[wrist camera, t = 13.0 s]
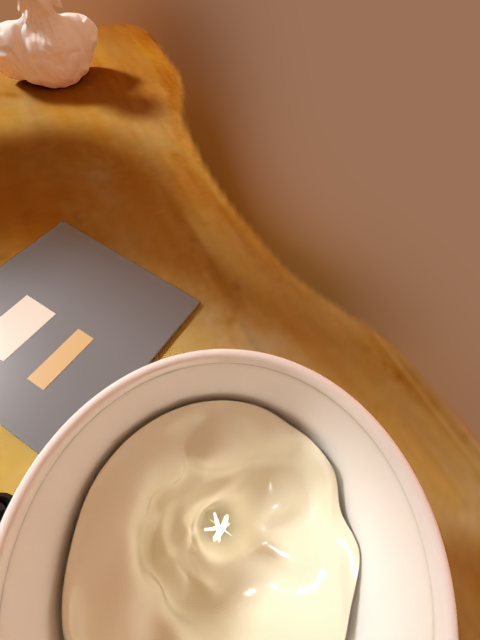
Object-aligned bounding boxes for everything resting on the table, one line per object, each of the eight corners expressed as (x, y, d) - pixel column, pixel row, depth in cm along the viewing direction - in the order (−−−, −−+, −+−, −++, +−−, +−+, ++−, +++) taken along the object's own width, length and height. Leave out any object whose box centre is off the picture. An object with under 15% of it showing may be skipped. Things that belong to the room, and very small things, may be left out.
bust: (14, 113, 39) (-4, 47, 29) (-26, 42, 37) (-61, -55, 27) (111, 90, 43) (124, 26, 33) (80, 26, 41) (84, -62, 31)
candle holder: (276, 419, 21) (355, 325, 10) (329, 624, 16) (571, 825, 6) (109, 452, 19) (0, 376, 8) (115, 697, 14) (-111, 1203, 4)
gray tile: (-101, 346, 22) (-105, 344, 22) (64, 223, 28) (62, 220, 28) (61, 470, 19) (58, 469, 19) (200, 303, 26) (200, 301, 26)
